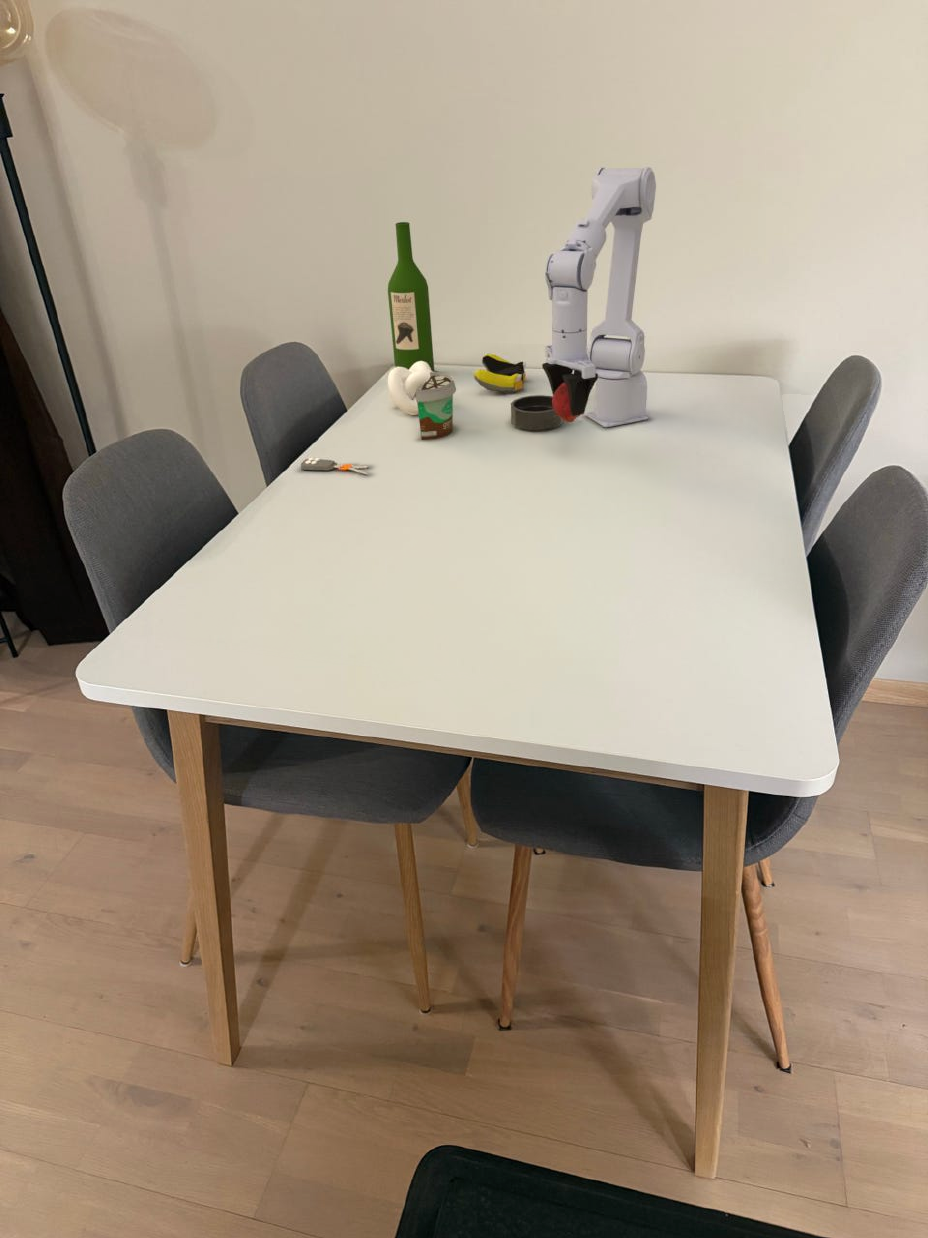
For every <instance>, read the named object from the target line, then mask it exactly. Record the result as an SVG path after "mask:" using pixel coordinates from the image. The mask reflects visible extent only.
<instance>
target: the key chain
mask: <svg viewBox="0 0 928 1238" xmlns="http://www.w3.org/2000/svg"><path fill="white" fill-rule="evenodd" d="M300 468H301V470H305V471H332V470H334V469H338V470H341V471H348V470H350V471H354V472H356V473H359V474H364V475H368V472H366V471H363V470H359V469H367V468H369V466H368V465H353V464H350V463H346V464H342V465H341V464H340V465H339V464H338V462H335V460H332V459H321V458H320V457H315V458H314V457H308V458H306V459H304V460H303V461H302V462H301V463H300Z"/></svg>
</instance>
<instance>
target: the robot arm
mask: <svg viewBox="0 0 928 1238" xmlns="http://www.w3.org/2000/svg"><path fill="white" fill-rule="evenodd" d="M656 192H657V182H656V176H655V172H654V171H653V169H652V167H649V166H648V167H641V168H639V167H637V168H636V167H635V168H634V167H632V168H631V167H629V168H628V167H626V168H615V167H613V168H612V167H611V168H609V167H608V168H607V167H606V168H605V167H599V168H598V169H597V170H596V172H595V173H594V175H593V177H592V181H591V199H592V202H591V204H590V206H589V210H588V211H587V214H586V216H585V218H581V219H579V220H577V222H575V223H574V226H573V227H572V229H571V231H570V232H569V234H568V236H567V238H566V240H565V241H564V243H563V245H562V247H561V248H560V250H559V249H558V250H556V251H554V252H553V253H551V254H550V255H549V256H548V259H547V261H546V266H545V273H544V276H545V283H546V285H547V290H548V298H549V300H550V301H551V341H552V342H551V344H549V345H545V346H544V348H545V350H544V351H545V352H544V353H545V354H544V355H545V362H544V363H542V365H541V366H542V369H543V371H544V373H545V375H546V377H547V379H548V380H547V381H549V385H550V389H551V394H552V396H553V395H554V393H555V391H556V389H557V388H558V387H559V386H560V385H561V384H562V383H564V382H565V383H566V386H567V390H568V394H569V402H570V410H571V414H572V415H573V416H576V415H580V416H581V415H584V414H585V412H586V408H587V404H588V400H589V397H590V394H591V391H592V389H593V387H594V386H595V389H594V390H595V395H594V397H595V399H594V402H595V403H594V411H592V412H587V413H586V417H588V418H589V419H591V420H593V422H596V423H597V424H599V425H600V426H602V428H610V427H616V426H621V425H627V424H631V423H637V422H641V421H646V420H648V419H649V418H648V416H647V401H648V382H647V378H646V374H644V372H643V371H642V370H641V369H642V368H643V365H644V362H645V356H646V355H645V354H646V350H645V349H646V348H645V337H646V336H645V333H644V331H643V330H642V329H641V328H640V327H639V326H638V324H636V323H635V322H634V321H633V319H632V318H633V308H634V300H635V291H636V283H637V273H638V264H639V256H640V245H641V238H642V233H643V227H644V224H645V223H647V222H649V221H651V220H652V219H653V218H652V217H653V213H654V207H655V206H654V205H655V201H656ZM610 223H611V224H612V226H613V229H614V230H613V238H612V239H613V240H612V249H611V258H610V269H609V278H608V288H607V297H606V305H605V307H606V308H605V316H604V320H603V321H601V322H600V323H599V324H597V325H595V326H594V328H592V329H591V332H590V337H589V342H588V301H589V300H588V299H589V298H588V295H589V293H588V291H589V289H590V287H592V284H593V281H594V275H595V271H596V269H597V259H598V257H599V255H600V253H601V251H602V250H603V248H604V246H605V245H606V242H607V232H606V229H607V228H608V226H609V225H610ZM606 336H607V337H606ZM608 336H612V337H608ZM613 336H615V337H613ZM617 337H625V338H617Z"/></svg>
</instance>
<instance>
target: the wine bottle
mask: <svg viewBox="0 0 928 1238" xmlns="http://www.w3.org/2000/svg"><path fill="white" fill-rule="evenodd" d="M394 225H395V235H396V248H397V250H396V251H397V264H396V265H395V268H394V270H393V272H392V274H391V276H390V279H389V280H388V284H387V297H388V298H387V299H388V308H389V319H390V327H391V328H390V329H391V339H392V349H393V360H394V368H396V367H404V368H406V369H408V370H409V369H410V368H411V366H412V365H413V364H414V363H416V362H419V361H424V362H427V363H428V365H429V366H430V368H431V371H433V372H435V361H434V359H435V358H434V347H433V333H432V320H431V319H432V318H431V307H430V293H429V285H428V281H427V279H426V277H425V276H424V275H423V273H422V271H421V270H420V269H419V267H418V266H417V264H416V262H415V261H414V257H413V248H412V237H411V227H410V226H411V225H410V222H408V221H400V222H396V223H395V224H394Z"/></svg>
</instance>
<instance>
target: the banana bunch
mask: <svg viewBox="0 0 928 1238" xmlns="http://www.w3.org/2000/svg"><path fill="white" fill-rule="evenodd" d="M481 363H482V365H483V366H484V368H485V369H481V368H479V369H478V370H476V371H474V373H473V378H474V380H475V381H476V382H477V383H478V384H479V385H480V386H481V387H482V388H484V389H485V390H486V391H487V390H488V391H497V392H498V391H499V392H501V393H502V394H503V395H504V394H505V395H510V394H511V395H512V394H513V393H514V392H517V391H520V390H521V389H523V383H524V382H525V381H526V380H527V379H526V378H527V377H526V371H525V369H526V366H527V362H524V361H518V362H517V363H512V362H510V361H508V360H507V359H504V358H502V357H500V356H498V355H497V354H492V353H487V354H485V355H484V356H482V359H481Z"/></svg>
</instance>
